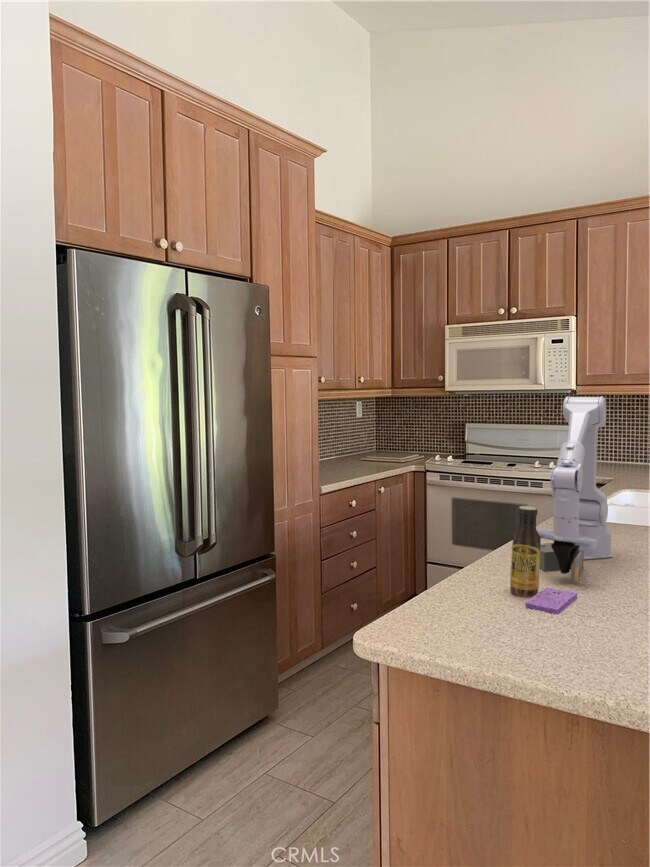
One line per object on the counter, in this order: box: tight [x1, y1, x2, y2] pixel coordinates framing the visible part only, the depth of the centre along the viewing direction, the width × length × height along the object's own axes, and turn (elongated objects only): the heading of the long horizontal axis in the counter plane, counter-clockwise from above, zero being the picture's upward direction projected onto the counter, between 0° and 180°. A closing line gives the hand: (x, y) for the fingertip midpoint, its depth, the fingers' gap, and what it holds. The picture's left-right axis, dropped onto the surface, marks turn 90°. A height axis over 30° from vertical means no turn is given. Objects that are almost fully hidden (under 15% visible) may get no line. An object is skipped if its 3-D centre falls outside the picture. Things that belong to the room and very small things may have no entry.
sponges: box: [524, 586, 578, 615], centre depth 143 cm, size 7×13×2 cm, turn 141°
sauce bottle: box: [509, 505, 542, 598], centre depth 148 cm, size 7×6×20 cm
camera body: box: [539, 541, 580, 573], centre depth 170 cm, size 11×8×6 cm
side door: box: [570, 551, 584, 584], centre depth 161 cm, size 14×1×4 cm, turn 150°
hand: (565, 572), depth 157 cm, fingers closed
